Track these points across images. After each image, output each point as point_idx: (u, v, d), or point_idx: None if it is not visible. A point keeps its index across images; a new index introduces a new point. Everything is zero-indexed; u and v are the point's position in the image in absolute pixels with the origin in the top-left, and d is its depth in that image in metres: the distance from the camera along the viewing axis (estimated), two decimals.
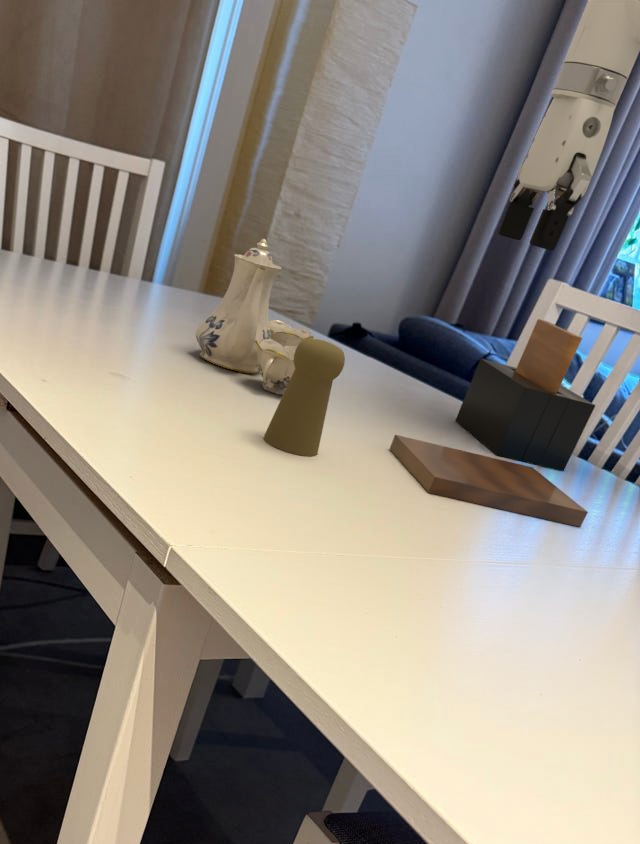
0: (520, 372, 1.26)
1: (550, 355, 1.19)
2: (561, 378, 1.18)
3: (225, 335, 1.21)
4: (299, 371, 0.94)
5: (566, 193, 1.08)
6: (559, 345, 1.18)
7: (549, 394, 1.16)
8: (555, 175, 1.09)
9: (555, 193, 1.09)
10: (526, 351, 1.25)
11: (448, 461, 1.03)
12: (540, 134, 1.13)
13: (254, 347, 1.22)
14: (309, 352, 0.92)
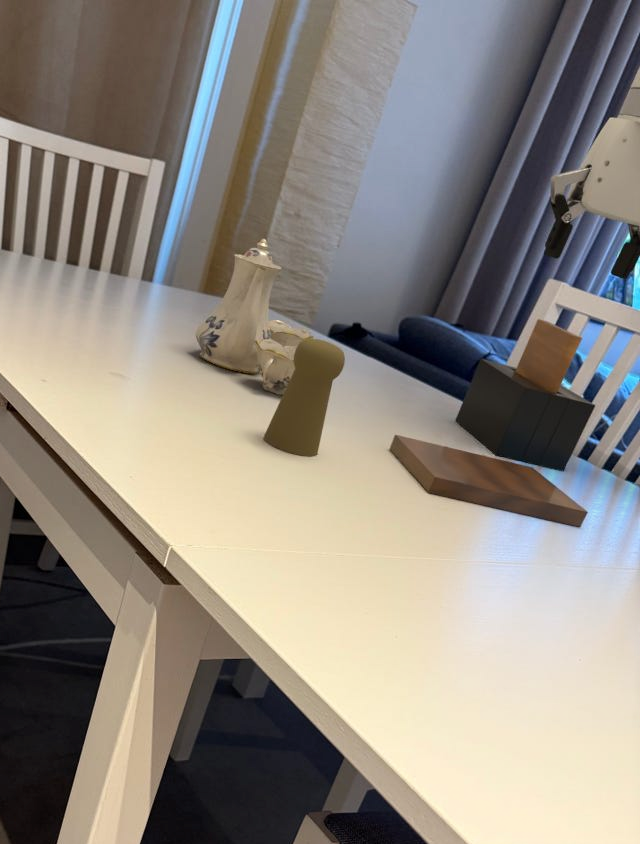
0: (520, 372, 1.26)
1: (550, 355, 1.19)
2: (561, 378, 1.18)
3: (225, 335, 1.21)
4: (299, 371, 0.94)
5: None
6: (559, 345, 1.18)
7: (549, 394, 1.16)
8: None
9: None
10: (526, 351, 1.25)
11: (448, 461, 1.03)
12: (623, 161, 1.08)
13: (254, 347, 1.22)
14: (309, 352, 0.92)
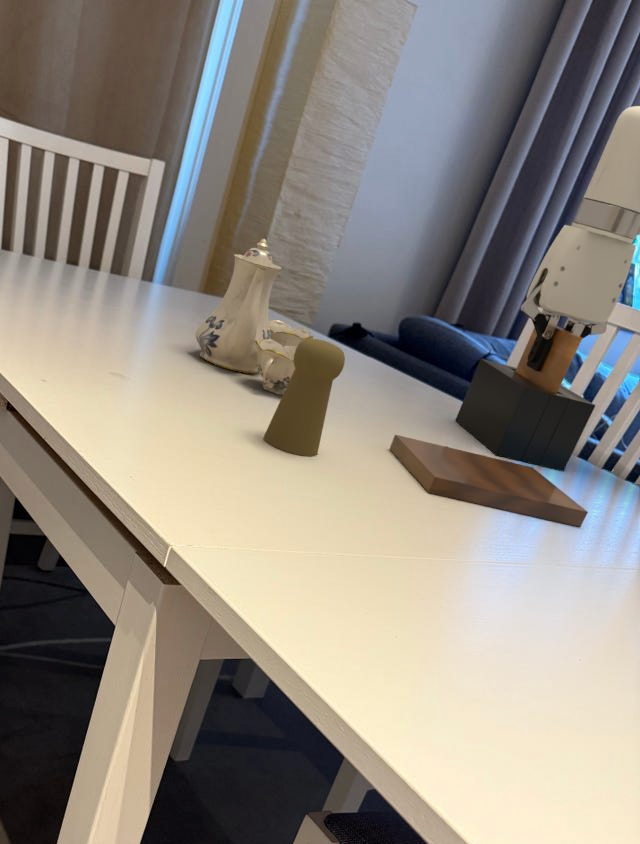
0: (520, 372, 1.26)
1: (550, 355, 1.19)
2: (561, 378, 1.18)
3: (225, 335, 1.21)
4: (299, 371, 0.94)
5: (588, 331, 1.19)
6: (559, 345, 1.18)
7: (549, 394, 1.16)
8: (610, 313, 1.17)
9: (580, 333, 1.19)
10: (526, 351, 1.25)
11: (448, 461, 1.03)
12: (578, 267, 1.14)
13: (254, 347, 1.22)
14: (309, 352, 0.92)
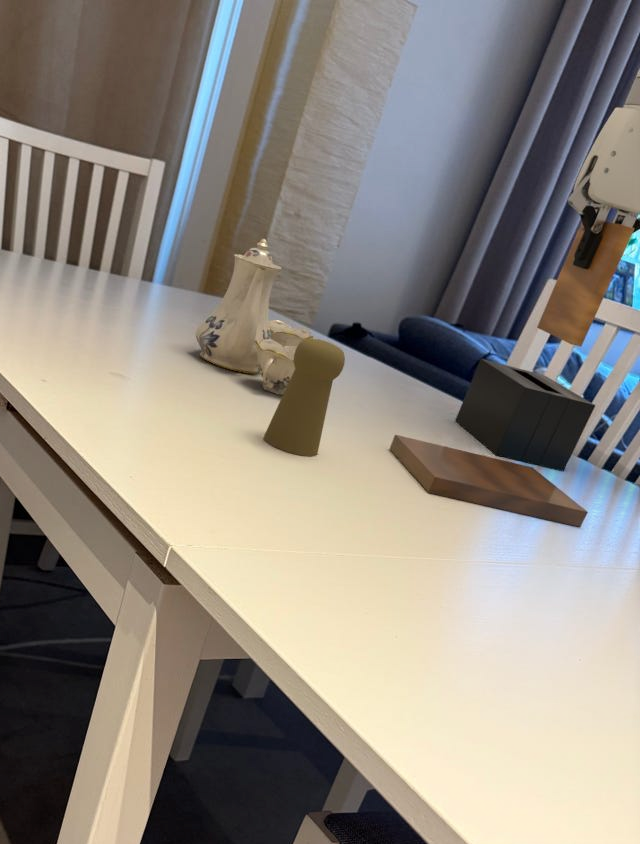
0: (565, 274, 1.19)
1: (599, 250, 1.13)
2: (611, 273, 1.12)
3: (225, 335, 1.21)
4: (299, 371, 0.94)
5: (639, 225, 1.13)
6: (609, 238, 1.11)
7: (549, 394, 1.16)
8: None
9: (631, 226, 1.13)
10: (572, 252, 1.19)
11: (448, 461, 1.03)
12: (630, 151, 1.07)
13: (254, 347, 1.22)
14: (309, 352, 0.92)
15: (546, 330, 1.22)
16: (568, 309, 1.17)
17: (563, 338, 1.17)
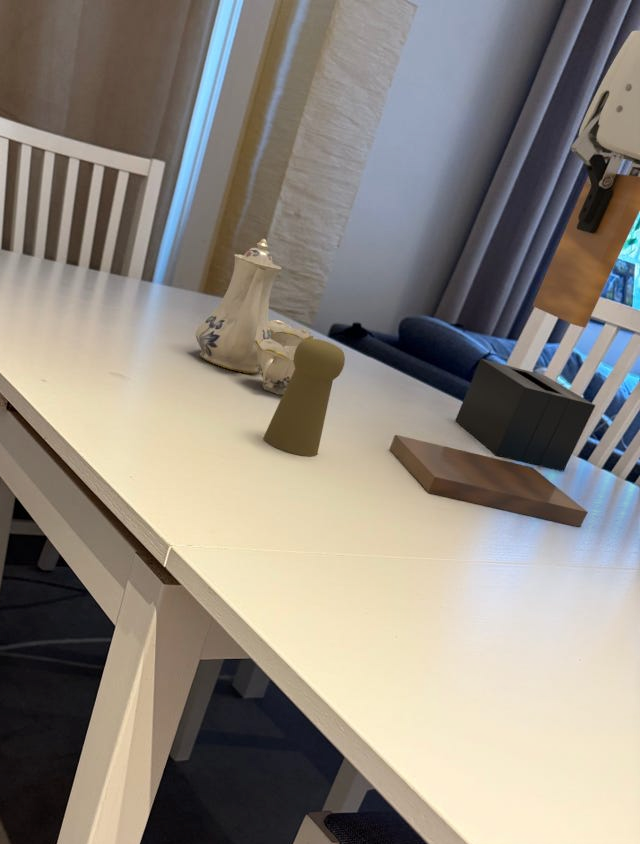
0: (566, 241, 0.99)
1: (609, 209, 0.92)
2: (624, 237, 0.91)
3: (225, 335, 1.21)
4: (299, 371, 0.94)
5: None
6: (621, 194, 0.91)
7: (549, 394, 1.16)
8: None
9: None
10: (575, 214, 0.98)
11: (448, 461, 1.03)
12: None
13: (254, 347, 1.22)
14: (309, 352, 0.92)
15: (543, 308, 1.01)
16: (570, 283, 0.97)
17: (563, 317, 0.97)
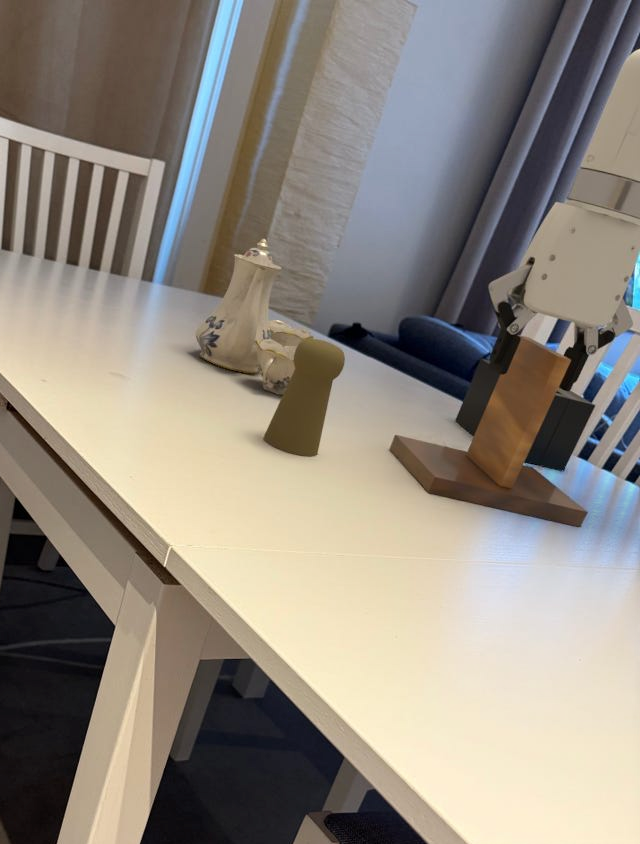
0: (496, 399, 1.03)
1: (531, 380, 0.96)
2: (545, 409, 0.95)
3: (225, 335, 1.21)
4: (299, 371, 0.94)
5: (611, 337, 0.96)
6: (542, 368, 0.95)
7: None
8: (613, 314, 0.94)
9: (597, 336, 0.95)
10: (504, 374, 1.02)
11: (448, 461, 1.03)
12: (572, 255, 0.90)
13: (254, 347, 1.22)
14: (309, 352, 0.92)
15: (475, 461, 1.05)
16: (498, 443, 1.01)
17: (492, 476, 1.01)
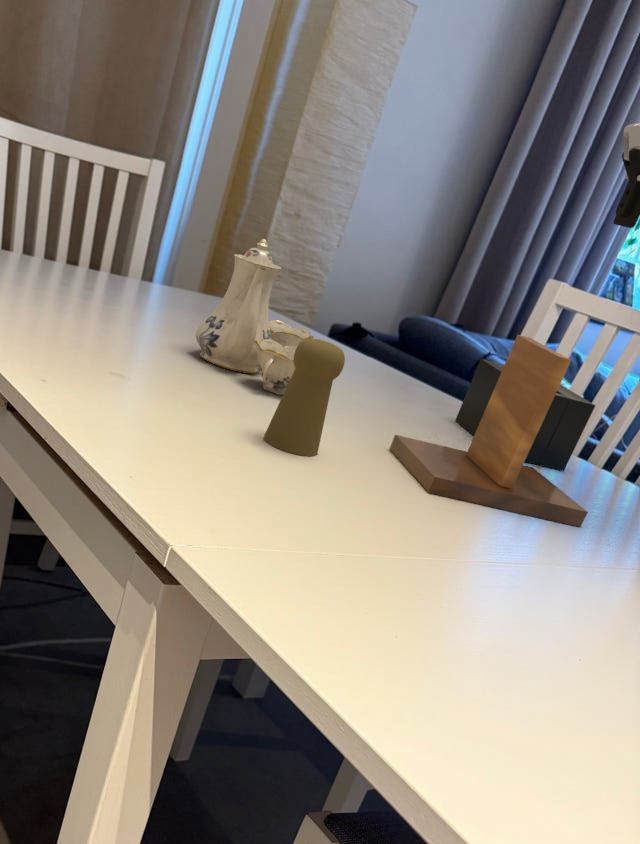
0: (496, 399, 1.03)
1: (531, 380, 0.96)
2: (545, 409, 0.95)
3: (225, 335, 1.21)
4: (299, 371, 0.94)
5: None
6: (542, 369, 0.95)
7: None
8: None
9: None
10: (504, 374, 1.02)
11: (448, 461, 1.03)
12: None
13: (254, 347, 1.22)
14: (309, 352, 0.92)
15: (475, 461, 1.05)
16: (498, 443, 1.01)
17: (492, 476, 1.01)
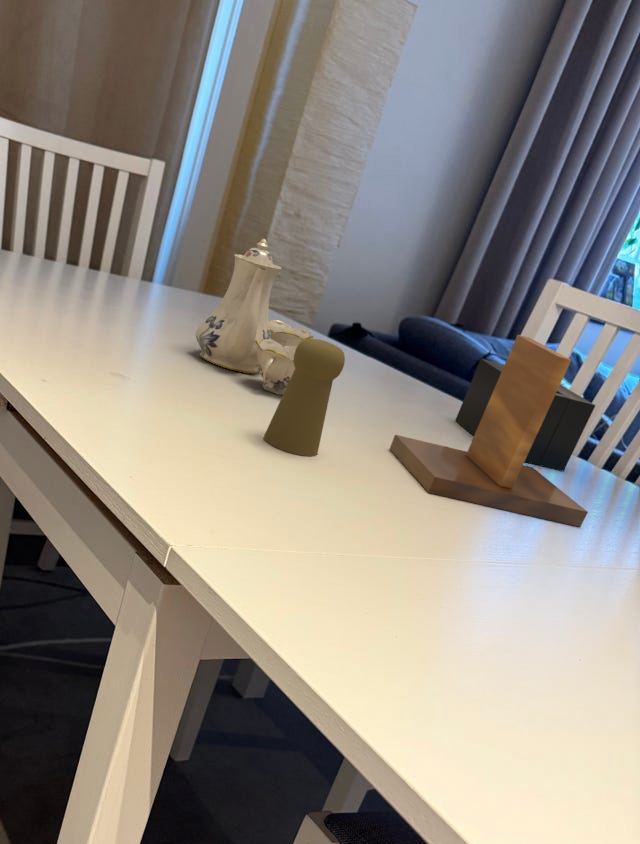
0: (496, 399, 1.03)
1: (531, 380, 0.96)
2: (545, 409, 0.95)
3: (225, 335, 1.21)
4: (299, 371, 0.94)
5: None
6: (542, 369, 0.95)
7: None
8: None
9: None
10: (504, 374, 1.02)
11: (448, 461, 1.03)
12: None
13: (254, 347, 1.22)
14: (309, 352, 0.92)
15: (475, 461, 1.05)
16: (498, 443, 1.01)
17: (492, 476, 1.01)
